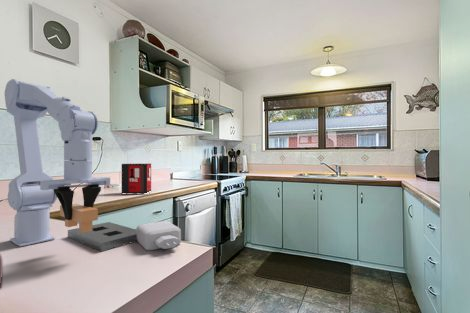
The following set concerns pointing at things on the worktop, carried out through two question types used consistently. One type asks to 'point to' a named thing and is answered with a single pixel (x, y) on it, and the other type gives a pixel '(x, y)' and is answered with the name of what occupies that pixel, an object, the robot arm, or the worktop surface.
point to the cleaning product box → (136, 178)
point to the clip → (81, 217)
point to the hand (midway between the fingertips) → (78, 217)
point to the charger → (158, 235)
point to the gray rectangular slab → (104, 236)
